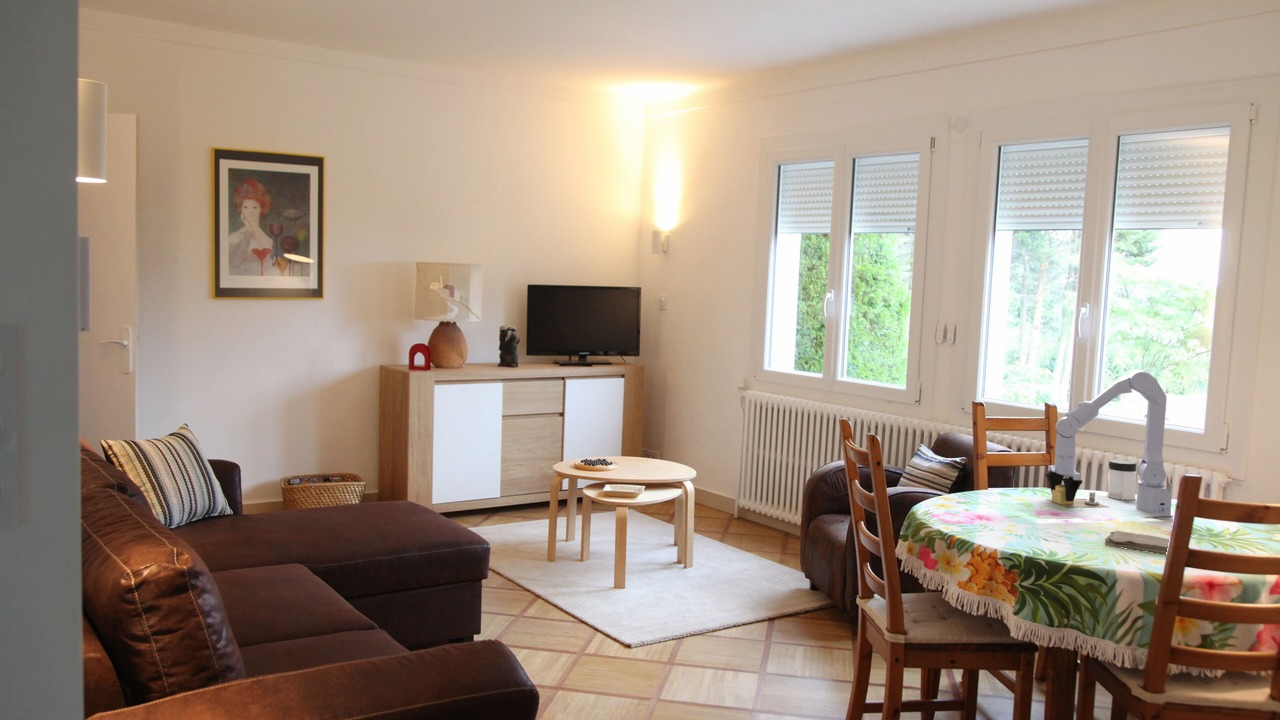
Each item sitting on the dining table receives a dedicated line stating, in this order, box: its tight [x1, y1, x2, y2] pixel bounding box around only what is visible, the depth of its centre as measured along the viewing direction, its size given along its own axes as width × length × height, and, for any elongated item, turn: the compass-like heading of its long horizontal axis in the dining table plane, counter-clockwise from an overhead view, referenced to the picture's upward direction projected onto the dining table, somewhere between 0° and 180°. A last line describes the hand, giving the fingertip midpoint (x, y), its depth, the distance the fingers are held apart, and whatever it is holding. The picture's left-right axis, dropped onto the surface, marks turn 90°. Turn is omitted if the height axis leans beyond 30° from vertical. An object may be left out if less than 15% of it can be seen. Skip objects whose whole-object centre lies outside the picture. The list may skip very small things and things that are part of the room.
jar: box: [1106, 459, 1138, 501], centre depth 315 cm, size 9×8×12 cm
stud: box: [1085, 491, 1100, 506], centre depth 299 cm, size 4×4×4 cm
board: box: [1045, 498, 1109, 509], centre depth 300 cm, size 12×14×1 cm
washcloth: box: [1104, 530, 1170, 556], centre depth 252 cm, size 12×18×3 cm, turn 55°
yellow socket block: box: [1051, 483, 1074, 505], centre depth 300 cm, size 5×5×6 cm
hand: (1062, 498), depth 300 cm, fingers open, 7 cm apart
